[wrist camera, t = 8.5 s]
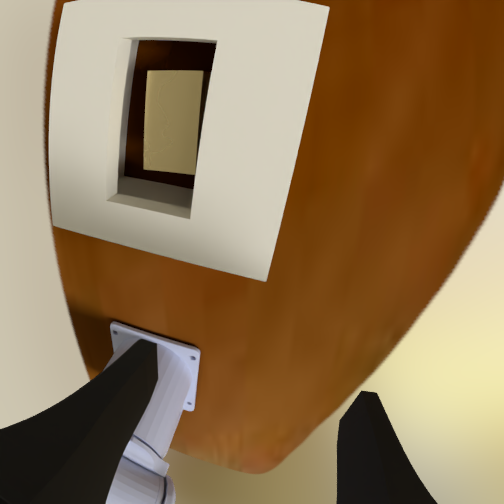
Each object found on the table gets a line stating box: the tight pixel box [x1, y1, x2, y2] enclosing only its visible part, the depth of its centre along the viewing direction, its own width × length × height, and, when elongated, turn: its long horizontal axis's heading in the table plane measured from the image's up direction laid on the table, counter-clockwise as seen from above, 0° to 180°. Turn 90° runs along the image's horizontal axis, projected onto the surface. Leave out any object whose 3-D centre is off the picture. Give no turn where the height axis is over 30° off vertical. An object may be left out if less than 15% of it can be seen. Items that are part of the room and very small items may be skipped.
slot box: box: [49, 0, 329, 282], centre depth 14 cm, size 11×11×6 cm
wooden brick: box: [144, 70, 211, 175], centre depth 14 cm, size 4×2×4 cm, turn 174°
